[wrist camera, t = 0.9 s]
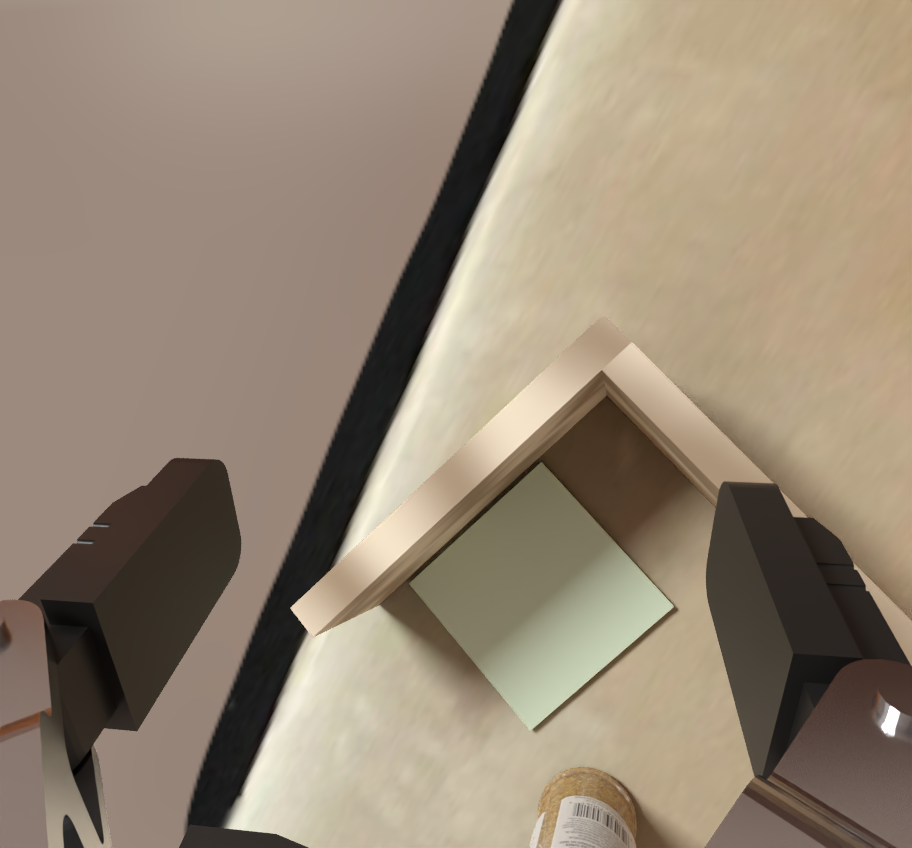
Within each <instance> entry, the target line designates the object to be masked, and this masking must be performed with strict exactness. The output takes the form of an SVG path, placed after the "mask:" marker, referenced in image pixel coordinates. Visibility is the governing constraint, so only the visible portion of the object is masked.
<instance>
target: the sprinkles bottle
mask: <svg viewBox="0 0 912 848" xmlns="http://www.w3.org/2000/svg"><path fill="white" fill-rule="evenodd" d="M636 833H637V817H636V812H635V808H634V805H633V803H632V801H631V798H630V796H629V795H628V793H627V792H626V790H625V789H624V788H623V787H622V786H621V785H620V784H619V783H618V782H617V781H616V780H615V779H614V778H612V777H610V776H609V775H608V774H606V773H604V772H602V771H599V770H596V769H593V768H588V767H578V768H571V769H569V770H566V771H564V772H561V773H559V774H557V775H556V776H554V778H553V779H552V780H551V781H550V782H549V783H548V784H547V786H546V787H545V789H544V792H543V794H542V796H541V799H540V801H539V805H538V820H537V823H536V825H535V827H534V830H533V834H532V838H531V842H530V846H529V848H636V844H635V837H636Z"/></svg>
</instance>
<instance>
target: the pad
mask: <svg viewBox="0 0 912 848" xmlns="http://www.w3.org/2000/svg"><path fill="white" fill-rule="evenodd" d="M409 584H410V586H411V587H412V588H413V589H414V591H415V592H416V593H417V594H418V595H419V597H420V598H421V599H422V600H423V601H424V603H425V604H426V605H427V606H428V608H429V609H430V610H431V611H432V612H433V614H434V615H435V616H436V617H437V618H438V620H439V621H440V622H441V623H442V625H443V626H444V627H445V628H446V629H447V631H448V632H449V633H450V634H451V635H452V637H453V638H454V639H455V640H456V641H457V643H458V644H459V645H460V646H461V648H462V649H463V650H464V651H465V652H466V654H467V655H468V656H469V657H470V658H471V660H472V661H473V662H474V663H475V665H476V666H477V667H478V668H479V669H480V671H481V672H482V673H483V674H484V675H485V677H486V678H487V679H488V680H489V682H490V683H491V684H492V685H493V686H494V688H495V689H496V690H497V691H498V692H499V694H500V695H501V696H502V697H503V698H504V700H505V701H506V702H507V703H508V705H509V706H510V707H511V708H512V709H513V711H514V712H515V713H516V714H517V715H518V717H519V718H520V719H521V720H522V722H523V723H524V724H525V725H526V726H527V728H528V729H529V730H530V731H531V730H532V729H533V728H534V727H535V726H537V725H538V724H539V723H540V722H541V721H542V720H543V719H545V718H546V717H547V716H548V715H549V714H550V713H552V712H553V711H554V710H555V709H556V708H557V707H559V706H560V705H561V704H562V703H563V702H564V701H565V700H567V699H568V698H569V697H570V696H571V695H572V694H574V693H575V692H576V691H577V690H578V689H579V688H581V687H582V686H583V685H584V684H585V683H586V682H587V681H589V680H590V679H591V678H592V677H593V676H594V675H596V674H597V673H598V672H599V671H600V670H601V669H602V668H604V667H605V666H606V665H607V664H608V663H609V662H611V661H612V660H613V659H614V658H615V657H616V656H618V655H619V654H620V653H621V652H622V651H623V650H624V649H626V648H627V647H628V646H629V645H630V644H631V643H633V642H634V641H635V640H636V639H637V638H638V637H640V636H641V635H642V634H643V633H644V632H645V631H646V630H648V629H649V628H650V627H651V626H652V625H653V624H655V623H656V622H657V621H658V620H659V619H660V618H662V617H663V616H664V615H665V614H666V613H667V612H668V611H670V610H671V609H672V608H673V607H674V605H673V604H672V603H671V602H670V601H669V600H668V599H667V598H666V597H665V596H664V594H663V593H662V592H661V591H660V590H659V589H658V588H657V587H656V586H655V585H654V584H653V582H652V581H651V580H650V579H649V578H648V577H647V576H646V575H645V574H644V573H643V572H642V570H641V569H640V568H639V567H638V566H637V565H636V564H635V563H634V562H633V561H632V560H631V559H630V557H629V556H628V555H627V554H626V553H625V552H624V551H623V550H622V549H621V548H620V547H619V545H618V544H617V543H616V542H615V541H614V540H613V539H612V538H611V537H610V536H609V535H608V534H607V532H606V531H605V530H604V529H603V528H602V527H601V526H600V525H599V524H598V523H597V522H596V520H595V519H594V518H593V517H592V516H591V515H590V514H589V513H588V512H587V511H586V510H585V508H584V507H583V506H582V505H581V504H580V503H579V502H578V501H577V500H576V499H575V498H574V497H573V495H572V494H571V493H570V492H569V491H568V490H567V489H566V488H565V487H564V486H563V485H562V483H561V482H560V481H559V480H558V479H557V478H556V477H555V476H554V475H553V474H552V473H551V471H550V470H549V469H548V468H547V467H546V466H545V465H544V464H543V463H542V462H541V463H540V464H538V465H537V466H536V467H535V468H534V469H533V470H532V471H531V472H530V473H529V474H528V475H527V476H525V477H524V478H523V479H522V480H521V481H520V482H519V483H518V484H517V485H516V486H515V487H513V488H512V489H511V490H510V491H509V492H508V493H507V494H506V495H505V496H504V497H503V498H501V499H500V500H499V501H498V502H497V503H496V504H495V505H494V506H493V507H492V508H491V509H490V510H488V511H487V512H486V513H485V514H484V515H483V516H482V517H481V518H480V519H479V520H478V521H476V522H475V523H474V524H473V525H472V526H471V527H470V528H469V529H468V530H467V531H466V532H464V533H463V534H462V535H461V536H460V537H459V538H458V539H457V540H456V541H455V542H454V543H453V544H451V545H450V546H449V547H448V548H447V549H446V550H445V551H444V552H443V553H442V554H441V555H439V556H438V557H437V558H436V559H435V560H434V561H433V562H432V563H431V564H430V565H429V566H427V567H426V568H425V569H424V570H423V571H422V572H421V573H420V574H419V575H418V576H417V577H416V578H414V579H413V580H412V581H411V582H410V583H409Z"/></svg>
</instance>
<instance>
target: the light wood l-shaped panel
mask: <svg viewBox="0 0 912 848" xmlns="http://www.w3.org/2000/svg"><path fill="white" fill-rule="evenodd" d="M606 396H608V397H609V398H610V399H611V400H612V401H613V402H614V403H615V404H616V405H617V406H618V407H619V408H620V409H621V411H622V412H623V413H624V414H625V415H626V416H627V417H628V418H629V419H630V420H631V421H632V422H633V423H634V424H635V425H636V426H637V427H638V428H639V429H640V430H641V431H642V432H643V433H644V434H645V435H646V436H647V437H648V438H649V439H650V440H651V441H652V442H653V443H654V444H655V446H656V447H657V448H658V449H659V450H660V451H661V452H662V453H663V454H664V455H665V456H666V457H667V458H668V459H669V460H670V461H671V462H672V463H673V464H674V465H675V466H676V467H677V468H678V469H679V470H680V471H681V472H682V473H683V474H684V475H685V476H686V477H687V478H688V479H689V481H690V482H691V483H692V484H693V485H694V486H695V487H696V488H697V489H698V490H699V491H700V492H701V493H702V494H703V495H704V496H705V497H706V498H707V499H708V500H709V501H710V502H711V503H712V504H713V505H714V506H715V507H716V505H717V499H718V493H719V489H720V486H721V484H722V483H723V482H724V481H729V482H754V483H773V482H772V481H771V480H770V479H769V478H768V477H767V476H766V475H765V474H764V473H763V472H762V471H761V470H760V469H759V468H758V467H757V466H756V465H755V464H754V463H753V462H752V461H751V460H750V459H749V458H748V457H747V456H746V455H745V454H744V453H743V452H742V451H741V450H740V449H739V448H738V447H737V446H736V445H735V444H734V443H733V442H732V441H731V440H730V439H729V438H728V437H727V436H726V435H725V434H724V433H723V432H722V431H721V430H720V429H719V428H718V427H717V426H716V425H715V424H714V423H713V422H712V421H711V420H710V419H709V418H708V417H707V416H706V415H705V414H704V413H703V412H701V411H700V410H699V409H698V408H697V407H696V406H695V405H694V404H693V403H692V402H691V401H690V400H689V399H688V398H687V397H686V396H685V395H684V394H683V393H682V392H681V391H680V390H679V389H678V388H677V387H676V386H675V385H674V384H673V383H672V382H671V381H670V380H669V379H668V378H667V377H666V376H665V375H664V374H663V373H662V372H661V371H660V370H659V369H658V368H657V367H656V366H655V365H654V364H653V363H652V362H651V361H650V360H649V359H648V358H647V357H646V356H645V355H644V354H643V353H642V352H641V351H640V350H639V349H638V348H637V347H636V346H635V345H634V344H633V343H632V342H631V341H630V340H629V339H628V338H627V337H626V336H625V335H624V334H623V333H622V332H621V331H620V330H619V329H618V328H617V327H616V326H615V325H614V324H613V323H612V322H611V321H610V320H609V319H608V318H607V317H606V316H605V315H604V314H603V315H602V316H601V317H600V318H599V319H598V320H597V321H596V322H595V323H594V324H593V325H592V326H591V327H590V328H588V329H587V330H586V331H585V332H584V333H583V334H582V335H581V336H580V337H579V338H578V339H577V340H576V341H575V342H574V343H572V344H571V345H570V346H569V347H568V348H567V349H566V350H565V351H564V352H563V353H562V354H561V355H560V356H559V357H558V358H556V359H555V360H554V361H553V362H552V363H551V364H550V365H549V366H548V367H547V368H546V369H545V370H544V371H543V372H542V373H540V374H539V375H538V376H537V377H536V378H535V379H534V380H533V381H532V382H531V383H530V384H529V385H528V386H527V387H526V388H524V389H523V390H522V391H521V392H520V393H519V394H518V395H517V396H516V397H515V398H514V399H513V400H512V401H511V402H510V403H508V404H507V405H506V406H505V407H504V408H503V409H502V410H501V411H500V412H499V413H498V414H497V415H496V416H495V417H494V418H493V419H491V420H490V421H489V422H488V423H487V424H486V425H485V426H484V427H483V428H482V429H481V430H480V431H479V432H478V433H477V434H475V435H474V436H473V437H472V438H471V439H470V440H469V441H468V442H467V443H466V444H465V445H464V446H463V447H462V448H461V449H459V450H458V451H457V452H456V453H455V454H454V455H453V456H452V457H451V458H450V459H449V460H448V461H447V462H446V463H445V464H443V465H442V466H441V467H440V468H439V469H438V470H437V471H436V472H435V473H434V474H433V475H432V476H431V477H430V478H429V479H427V480H426V481H425V482H424V483H423V484H422V485H421V486H420V487H419V488H418V489H417V490H416V491H415V492H414V493H413V494H411V495H410V496H409V497H408V498H407V499H406V500H405V501H404V502H403V503H402V504H401V505H400V506H399V507H398V508H397V509H395V510H394V511H393V512H392V513H391V514H390V515H389V516H388V517H387V518H386V519H385V520H384V521H383V522H382V523H381V524H379V525H378V526H377V527H376V528H375V529H374V530H373V531H372V532H371V533H370V534H369V535H368V536H367V537H366V538H365V539H363V540H362V541H361V542H360V543H359V544H358V545H357V546H356V547H355V548H354V549H353V550H352V551H351V552H350V553H349V554H347V555H346V556H345V557H344V558H343V559H342V560H341V561H340V562H339V563H338V564H337V565H336V566H335V567H334V568H333V569H331V570H330V571H329V572H328V573H327V574H326V575H325V576H324V577H323V578H322V579H321V580H320V581H319V582H318V583H317V584H315V585H314V586H313V587H312V588H311V589H310V590H309V591H308V592H307V593H306V594H305V595H304V596H303V597H302V598H301V599H300V600H298V601H297V602H296V603H295V604H294V605H293V606H292V607H291V610H292V611H293V612H294V614H295V615H296V616H297V617H298V619H299V620H300V621H301V623H302V624H303V625H304V626H305V628H306V629H307V630H308V632H309V633H310V634H311V636H312V637H315V636H317V635H319V634H321V633H323V632H325V631H327V630H329V629H331V628H333V627H335V626H337V625H339V624H341V623H343V622H345V621H347V620H350V619H352V618H354V617H356V616H358V615H360V614H362V613H364V612H366V611H368V610H370V609H372V608H374V607H376V606H378V605H380V604H381V603H382V602H383V601H384V600H385V599H386V598H387V597H388V596H389V595H391V594H392V593H393V592H394V591H395V590H396V589H397V588H398V587H399V586H400V585H401V584H403V583H404V582H405V581H406V580H407V579H408V578H409V577H410V576H411V575H412V574H413V573H414V572H416V571H417V570H418V569H419V568H420V567H421V566H422V565H423V564H424V563H425V562H426V561H428V560H429V559H430V558H431V557H432V556H433V555H434V554H435V553H436V552H437V551H438V550H439V549H441V548H442V547H443V546H444V545H445V544H446V543H447V542H448V541H449V540H450V539H451V538H453V537H454V536H455V535H456V534H457V533H458V532H459V531H460V530H461V529H462V528H463V527H464V526H466V525H467V524H468V523H469V522H470V521H471V520H472V519H473V518H474V517H475V516H476V515H478V514H479V513H480V512H481V511H482V510H483V509H484V508H485V507H486V506H487V505H488V504H489V503H491V502H492V501H493V500H494V499H495V498H496V497H497V496H498V495H499V494H500V493H501V492H502V491H504V490H505V489H506V488H507V487H508V486H509V485H510V484H511V483H512V482H513V481H514V480H516V479H517V478H518V477H519V476H520V475H521V474H522V473H523V472H524V471H525V470H526V469H527V468H529V467H530V466H531V465H532V464H533V463H534V462H535V461H536V460H537V459H538V458H539V457H541V456H542V455H543V454H544V453H545V452H546V451H547V450H548V449H549V448H550V447H551V446H552V445H554V444H555V443H556V442H557V441H558V440H559V439H560V438H561V437H562V436H563V435H564V434H566V433H567V432H568V431H569V430H570V429H571V428H572V427H573V426H574V425H575V424H576V423H577V422H579V421H580V420H581V419H582V418H583V417H584V416H585V415H586V414H587V413H588V412H589V411H591V410H592V409H593V408H594V407H595V406H596V405H597V404H598V403H599V402H600V401H601V400H602V399H604V398H605V397H606ZM780 491H781V490H780ZM781 493H782V495H783V497H784V499H785V501H786V503H787V505H788V507H789V509H790V511H791V513H792V515H793V517H805V518H808V517H807V516H806V515H805V514H804V513H803V512H802V511H801V510H800V509H799V508H798V507H797V506H796V505H795V504H794V503H793V502H792V501H791V500H790V499H789V498H788V497H787V496H786V495H785V494H784V493H783V492H782V491H781ZM853 564H854V563H853ZM854 570H857V571H858V572H859V574H860V576H861V578H862V579H863V581H864V583H865V585H866V591H869V592H870V594H871V595H872V597H873V599H874V601H875V602H876V604H877V606H878V608H879V609H880V611H881V613H882V615H883V617H884V618H885V620H886V622H887V624H888V625H889V627H890V629H891V631H892V632H893V634H894V636H895V638H896V640H897V641H898V643H899V645H900V647H901V648H902V650H903V652H904V654H905V655H906V657H907V659H908V661H909V662H910V664H911V666H912V621H911V620H910V619H909V618H908V617H907V616H906V615H905V614H904V613H903V612H902V611H901V610H900V609H899V608H898V607H897V606H896V605H895V604H894V603H893V602H892V601H891V600H890V599H889V598H888V597H887V596H886V595H885V594H884V593H883V592H882V591H881V590H880V589H879V588H878V587H877V586H876V585H875V584H874V583H873V582H872V581H871V580H870V579H869V578H868V577H867V576H866V575H865V574H864V573H863V572H862V571H861V570H860V569H859V568H858V567H857V566H856V565H855V564H854Z"/></svg>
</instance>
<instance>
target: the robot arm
mask: <svg viewBox="0 0 912 848" xmlns="http://www.w3.org/2000/svg"><path fill="white" fill-rule="evenodd" d="M77 540H78V541H77V544H72V545H71V546H70V547H69V548H68V549H67V550H66V551H65V552H64V553H63V554H62V555H61V557H60V558H59V559H58V560H57V561H56V562H55V563H54V564H53V565H52V566H51V567H50V568H49V569H48V570H47V571H46V572H45V573H44V574H43V575H42V576H41V577H40V578H39V579H38V580H37V581H36V582H35V583H34V584H33V585H32V586H31V587H30V588H29V589H28V590H27V591H26V592H25V593H24V594H23V595H22V597H20V598H19V599H18V600H3V601H0V848H112V844H111V837H110V831H109V824H108V817H107V811H106V804H105V798H104V791H103V784H102V778H101V772H100V764H99V758H98V755H97V752H96V749H95V746H94V742H95V741H96V739H97V738H98V736H99V735H100V733H101V732H102V730H103V729H104V728H108V729H119V730H130V731H138V729H139V727H140V726H141V724H142V722H143V721H144V719H145V718H146V716H147V714H148V713H149V711H150V709H151V708H152V706H153V705H154V703H155V701H156V699H157V698H158V696H159V695H160V693H161V692H162V690H163V688H164V686H165V685H166V684H167V682H168V680H169V679H170V677H171V675H172V674H173V672H174V671H175V669H176V667H177V665H178V664H179V662H180V661H181V659H182V658H183V656H184V654H185V653H186V651H187V649H188V648H189V646H190V644H191V643H192V641H193V640H194V638H195V636H196V635H197V633H198V632H199V630H200V628H201V626H202V625H203V623H204V622H205V620H206V619H207V617H208V615H209V614H210V612H211V610H212V609H213V607H214V606H215V604H216V602H217V601H218V599H219V597H220V596H221V594H222V593H223V591H224V589H225V588H226V586H227V585H228V583H229V581H230V580H231V578H232V576H233V575H234V573H235V571H236V568H237V566H238V563H239V559H240V553H241V536H240V530H239V525H238V521H237V516H236V511H235V506H234V501H233V497H232V492H231V487H230V482H229V478H228V473H227V470H226V467H225V465H224V464H223V463H222V462H221V461H220V460H214V459H189V458H174V459H172V460H171V461H170V462H169V463H168V464H167V465H166V466H165V467H164V468H163V469H162V470H161V471H160V472H159V473H158V474H157V475H156V476H155V477H154V478H153V479H152V481H151V482H150V483H149V484H148V485H147V486H141V487H139V488H137V489H136V490H134V491H132V492H130V493H129V494H127V495H125V496H123V497H122V498H120V499H118V500H117V501H115V502H114V503H112V504H111V506H109V507H108V508H107V509H106V510H105V511H104V513H102V514H101V516H99V517H98V519H97V520H96V521H95V522H94V525H93V527H89V528H88V529H87V530H86V531H85V532H84V533H83V534H82V535H81V536H80V537H79V538H78V539H77ZM706 589H707V598H708V603H709V607H710V611H711V615H712V618H713V622H714V626H715V630H716V633H717V637H718V641H719V645H720V648H721V652H722V656H723V660H724V663H725V667H726V671H727V675H728V679H729V682H730V686H731V690H732V694H733V697H734V701H735V705H736V709H737V712H738V716H739V720H740V724H741V727H742V731H743V735H744V739H745V742H746V746H747V750H748V754H749V757H750V761H751V765H752V769H753V773H754V776H755V777H754V778H753V779H752V780H751V781H750V783H749V784H748V785H747V786H746V788H745V789H744V790H743V792H742V793H741V795H740V796H739V798H738V799H737V801H736V802H735V804H734V805H733V807H732V808H731V810H730V811H729V812H728V814H727V815H726V817H725V818H724V820H723V821H722V823H721V824H720V826H719V827H718V829H717V830H716V832H715V833H714V835H713V836H712V838H711V839H710V840H709V842H708V843H707V845H706V846H705V848H912V666H911V664H910V662H909V661H908V659H907V657H906V655H905V654H904V652H903V650H902V648H901V647H900V645H899V643H898V641H897V640H896V638H895V636H894V634H893V632H892V631H891V629H890V627H889V625H888V624H887V622H886V620H885V618H884V617H883V615H882V613H881V611H880V609H879V608H878V606H877V604H876V602H875V601H874V599H873V597H872V595H871V594H870V592H869V591H866V585H865V583H864V581H863V579H862V578H861V576H860V574H859V572H858V571H857V570H854V564H853V562H852V560H851V558H850V556H849V555H848V553H847V551H846V549H845V548H844V546H843V544H842V542H841V541H840V539H838V538H837V537H836V536H835V535H834V534H832V533H831V532H830V531H829V530H827V529H826V528H825V527H824V526H823V525H821V524H820V523H819V522H818V521H816V520H815V519H814V518H805V517H793V515H792V513H791V511H790V509H789V507H788V505H787V503H786V501H785V499H784V497H783V495H782V493H781V491H780V489H779V487H778V486H777V485H776V484H774V483H754V482H729V481H724V482H723V483H722V484H721V486H720V489H719V493H718V499H717V505H716V511H715V517H714V523H713V529H712V535H711V541H710V547H709V553H708V559H707V568H706ZM179 848H308V847H306V846H303V845H301V844H298V843H296V842H294V841H291V840H289V839H286V838H284V837H282V836H279V835H277V834H270V833H261V832H252V831H242V830H233V829H224V828H215V827H205V826H196V825H190V826H189V828H188V830H187V832H186V834H185V836H184V838H183V840H182V843H181V845H180V847H179Z"/></svg>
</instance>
